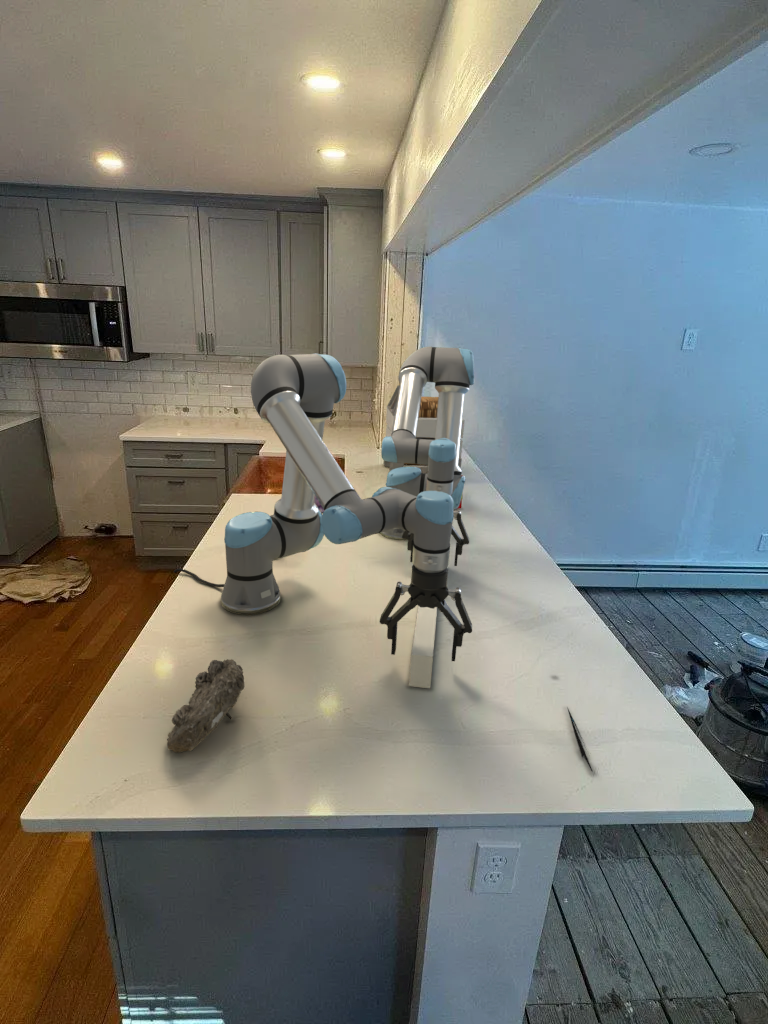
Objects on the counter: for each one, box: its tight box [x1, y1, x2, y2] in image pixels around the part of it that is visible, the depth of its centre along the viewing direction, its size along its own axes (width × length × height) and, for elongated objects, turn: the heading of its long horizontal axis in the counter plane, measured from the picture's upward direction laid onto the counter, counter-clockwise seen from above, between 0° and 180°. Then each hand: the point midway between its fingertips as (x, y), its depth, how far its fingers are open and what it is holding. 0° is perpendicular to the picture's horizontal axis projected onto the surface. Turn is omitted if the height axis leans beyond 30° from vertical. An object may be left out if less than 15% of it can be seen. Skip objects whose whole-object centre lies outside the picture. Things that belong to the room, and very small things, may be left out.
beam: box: [408, 606, 438, 689], centre depth 147 cm, size 63×4×8 cm, turn 173°
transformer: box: [383, 384, 465, 472], centre depth 268 cm, size 34×33×41 cm
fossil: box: [166, 658, 245, 754], centre depth 106 cm, size 22×10×15 cm
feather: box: [554, 675, 593, 772], centre depth 111 cm, size 2×28×2 cm
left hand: (423, 654), depth 124 cm, fingers open, 12 cm apart
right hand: (433, 562), depth 170 cm, fingers open, 12 cm apart
